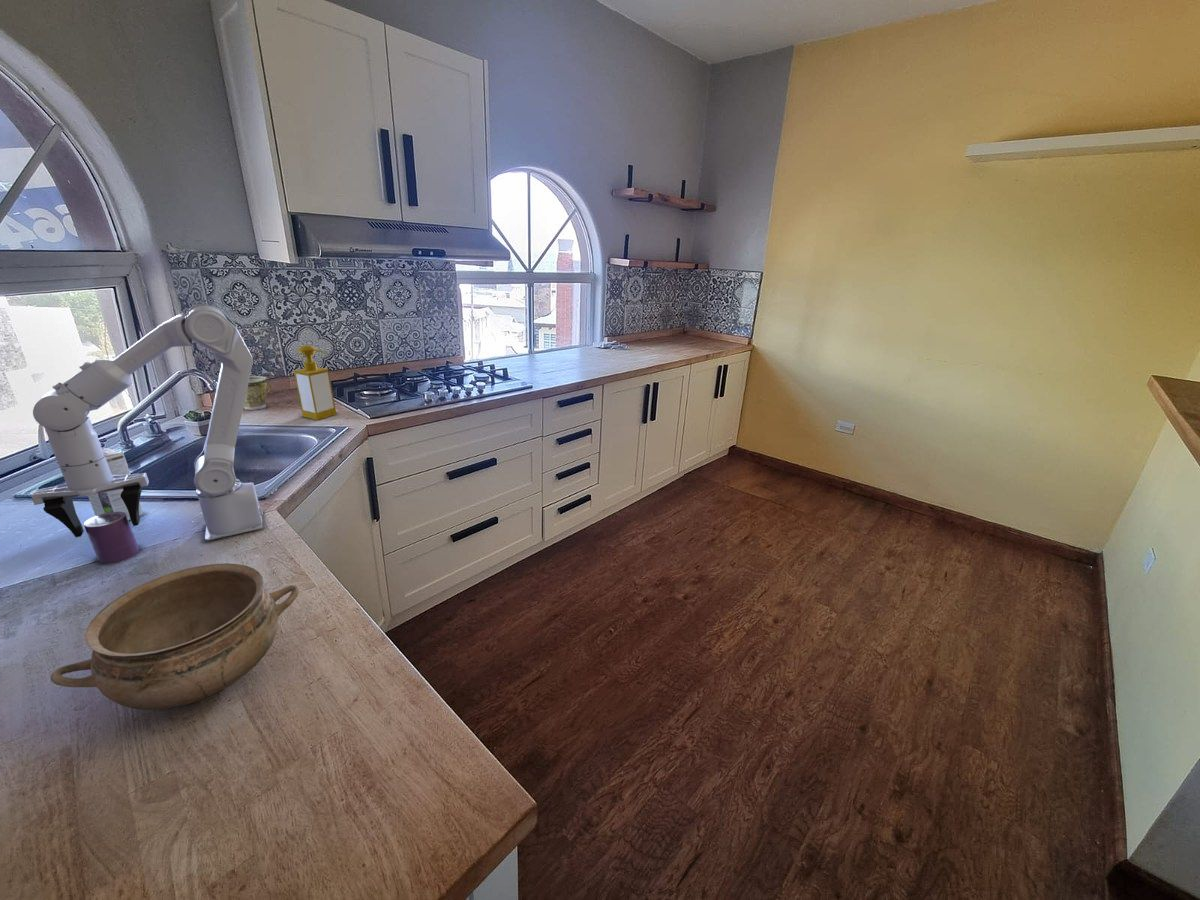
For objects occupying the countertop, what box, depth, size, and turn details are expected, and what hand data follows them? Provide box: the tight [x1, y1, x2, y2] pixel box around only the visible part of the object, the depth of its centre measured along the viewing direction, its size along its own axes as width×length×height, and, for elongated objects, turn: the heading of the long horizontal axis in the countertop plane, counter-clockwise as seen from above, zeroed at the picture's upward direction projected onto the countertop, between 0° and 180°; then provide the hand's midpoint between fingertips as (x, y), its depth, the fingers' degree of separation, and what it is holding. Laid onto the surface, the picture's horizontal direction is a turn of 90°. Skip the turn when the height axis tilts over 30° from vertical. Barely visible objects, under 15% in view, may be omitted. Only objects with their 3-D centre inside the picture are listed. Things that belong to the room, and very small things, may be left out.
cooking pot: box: [50, 562, 300, 711], centre depth 65 cm, size 25×19×12 cm
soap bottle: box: [293, 344, 337, 421], centre depth 164 cm, size 7×13×24 cm, turn 65°
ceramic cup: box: [243, 375, 272, 411], centre depth 173 cm, size 13×10×10 cm
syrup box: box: [87, 447, 144, 521], centre depth 102 cm, size 6×6×14 cm
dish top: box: [83, 512, 131, 539], centre depth 90 cm, size 6×6×2 cm
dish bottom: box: [93, 537, 140, 564], centre depth 92 cm, size 6×6×2 cm
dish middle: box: [88, 525, 136, 551], centre depth 91 cm, size 6×6×2 cm
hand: (108, 528), depth 91 cm, fingers open, 7 cm apart
